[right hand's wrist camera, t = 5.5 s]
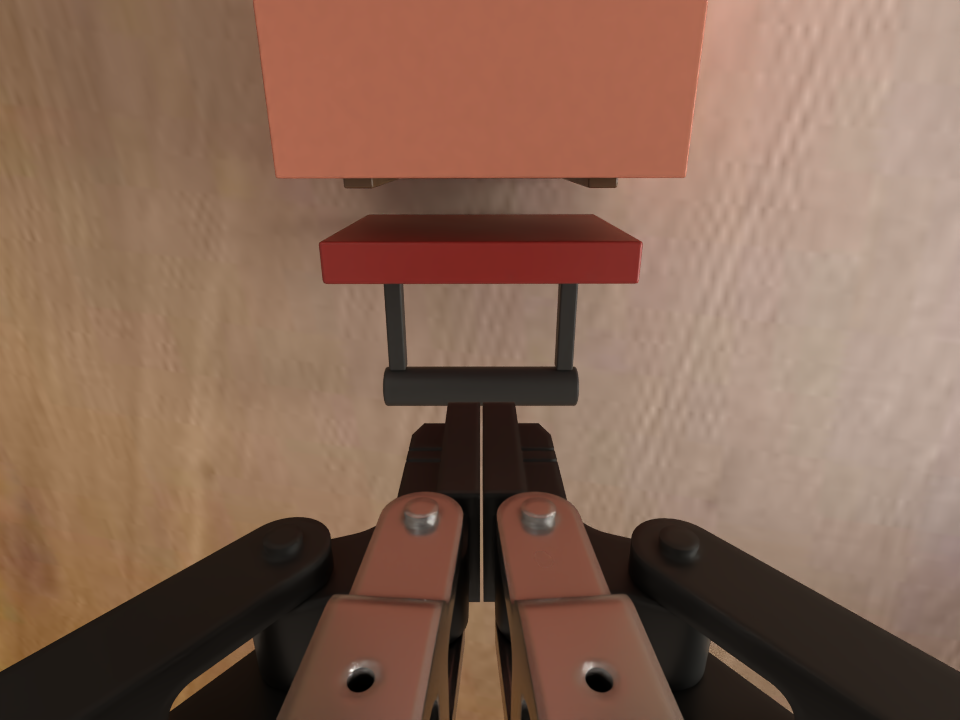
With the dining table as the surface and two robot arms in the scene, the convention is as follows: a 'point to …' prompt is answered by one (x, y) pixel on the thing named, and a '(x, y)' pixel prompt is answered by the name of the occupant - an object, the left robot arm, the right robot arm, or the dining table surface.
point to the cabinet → (480, 87)
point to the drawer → (481, 260)
